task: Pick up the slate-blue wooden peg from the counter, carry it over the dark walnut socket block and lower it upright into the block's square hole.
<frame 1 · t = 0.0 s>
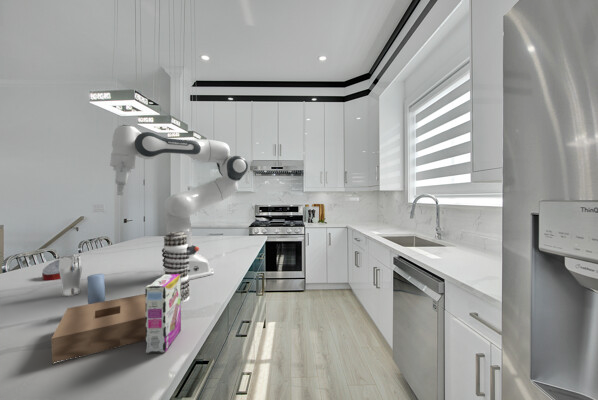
hand: (119, 195, 115), 39 cm above the countertop, tool pointing down, fingers open, 8 cm apart
socket block: (108, 333, 76), on the countertop
peg: (97, 311, 90), on the countertop
red base snow globe: (56, 278, 129), on the countertop
candy bar box: (165, 342, 71), on the countertop
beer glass: (71, 294, 107), on the countertop
decorative candle: (177, 300, 99), on the countertop
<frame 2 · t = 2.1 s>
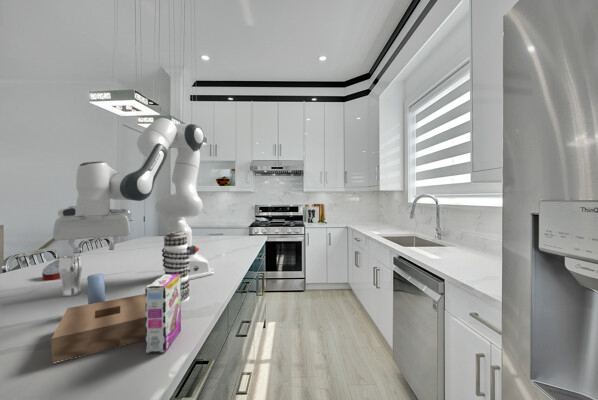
hand: (94, 251, 90), 20 cm above the countertop, tool pointing down, fingers open, 8 cm apart
nothing on the countertop moved.
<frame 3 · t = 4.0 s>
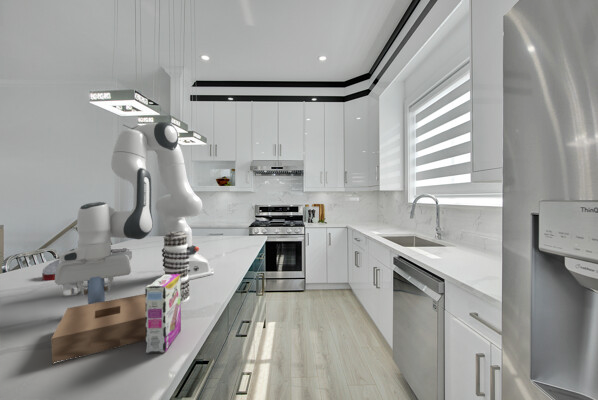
hand: (96, 292, 90), 6 cm above the countertop, tool pointing down, fingers closed on peg, 4 cm apart
peg: (96, 311, 90), on the countertop, touching gripper
everything else where it was.
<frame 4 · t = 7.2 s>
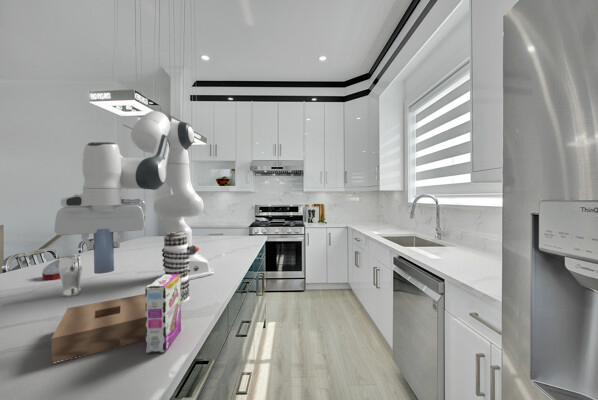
hand: (103, 248, 76), 24 cm above the countertop, tool pointing down, fingers closed on peg, 4 cm apart
peg: (104, 271, 76), point 17 cm above the countertop, touching gripper
everything else where it was.
when the fingers open (9 cm above the countertop, at t = 10.4 s): peg drops 2 cm, resting in socket block.
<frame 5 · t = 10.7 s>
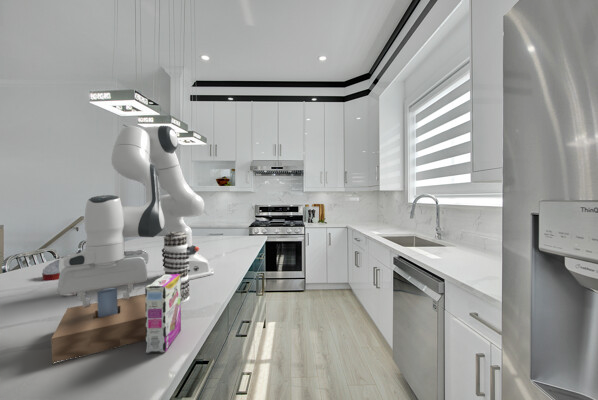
hand: (107, 302, 76), 9 cm above the countertop, tool pointing down, fingers open, 8 cm apart
peg: (108, 333, 76), resting in socket block
everything else where it was.
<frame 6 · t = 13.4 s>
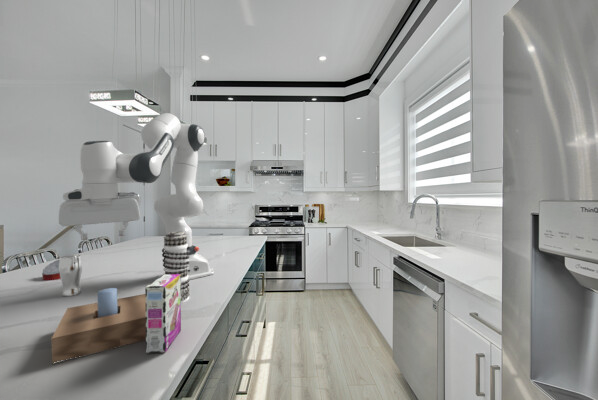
hand: (103, 237, 84), 26 cm above the countertop, tool pointing down, fingers open, 8 cm apart
nothing on the countertop moved.
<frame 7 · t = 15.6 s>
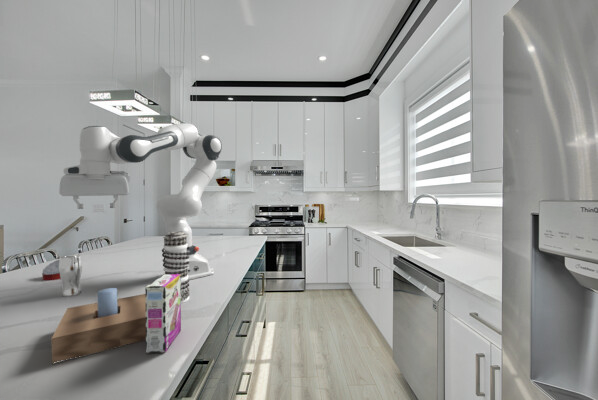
hand: (96, 208, 99), 34 cm above the countertop, tool pointing down, fingers open, 8 cm apart
nothing on the countertop moved.
at the end: peg 0.1 cm off-centre on the socket block, point 0.0 cm above the socket block's base; peg tilted 0°; the gripper is holding nothing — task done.
